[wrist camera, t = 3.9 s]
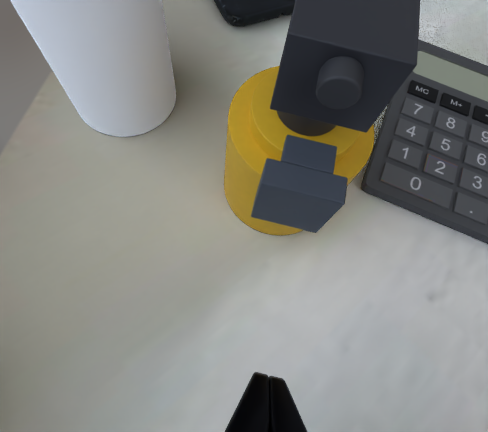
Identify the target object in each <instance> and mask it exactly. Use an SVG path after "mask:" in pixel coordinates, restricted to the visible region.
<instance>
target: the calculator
mask: <svg viewBox="0 0 488 432" xmlns="http://www.w3.org/2000/svg"><path fill="white" fill-rule="evenodd" d="M362 189H363V190H364V191H365V192H367V193H370V194H372V195H374V196H377V197H379V198H382V199H384V200H386V201H389V202H391V203H393V204H396V205H398V206H401V207H403V208H405V209H408V210H410V211H412V212H415V213H417V214H419V215H422V216H424V217H427V218H429V219H431V220H434V221H436V222H438V223H441V224H443V225H446V226H448V227H450V228H453V229H455V230H457V231H460V232H462V233H464V234H467V235H469V236H472V237H474V238H476V239H479V240H481V241H483V242H486V243H488V66H486V65H484V64H481V63H479V62H476V61H473V60H471V59H468V58H466V57H463V56H460V55H458V54H455V53H453V52H450V51H447V50H445V49H442V48H440V47H437V46H434V45H432V44H429V43H427V42H424V41H421V40H419V39H418V56H417V65H416V67H415V68H414V70H413V71H412V72H411V74H410V75H409V76H408V78H407V79H406V80H405V82H404V83H403V84H402V86H401V87H400V88H399V90H398V91H397V92H396V94H395V95H394V96H393V98H392V99H391V101H390V102H389V104H388V107H387V110H386V113H385V116H384V119H383V122H382V125H381V128H380V131H379V134H378V137H377V140H376V143H375V146H374V149H373V152H372V155H371V158H370V161H369V164H368V167H367V170H366V173H365V176H364V179H363V182H362Z"/></svg>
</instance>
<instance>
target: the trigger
mask: <svg viewBox="0 0 488 432" xmlns="http://www.w3.org/2000/svg"><path fill="white" fill-rule="evenodd" d="M336 153H337V146H333V145H329V144H325V143H321V142H317V141H312V140H308V139H304V138H300V137H296V136H292V135H287V136H286V139H285V142H284V147H283V151H282V156H281V161H278V160H274V159H270V158H267V159H266V162H265V165H264V168H263V172H262V175H261V179H260V182H259V186H258V189H257V192H256V196H255V200H254V204H253V208H252V213H251V217H253V218H257V219H261V220H265V221H269V222H273V223H277V224H281V225H286V226H290V227H294V228H298V229H302V230H306V231H310V232H314V233H316V232H317V231H318V230H319V229H320V228H321V227H322V226H323V225H324V224H325V223H326V222H327V221H328V220H329V219H330V218H331V217H332V216H333V215H334V214H335V213H336V212H337V211H338V210H339V209H340V208H341V207H342V206H343V205H344V203H345V196H346V188H347V181H348V178H347V177H343V176H339V175H335V174H333V173H334V167H335V160H336Z"/></svg>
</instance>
